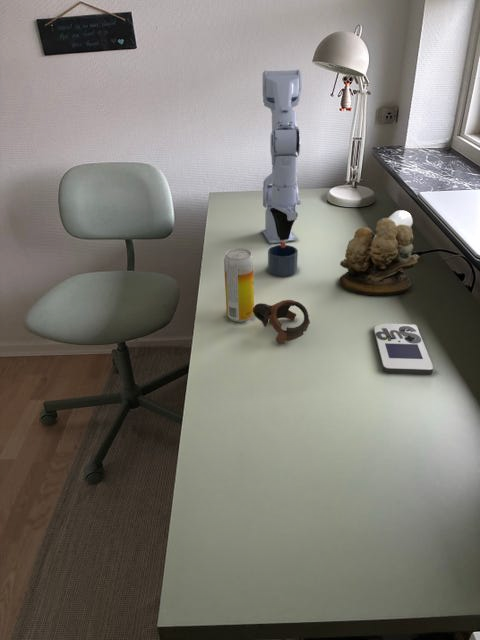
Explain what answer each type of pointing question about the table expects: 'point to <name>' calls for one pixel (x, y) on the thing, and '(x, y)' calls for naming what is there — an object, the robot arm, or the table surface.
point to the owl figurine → (379, 260)
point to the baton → (283, 243)
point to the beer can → (239, 284)
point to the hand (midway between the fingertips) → (283, 238)
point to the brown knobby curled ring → (282, 311)
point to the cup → (282, 260)
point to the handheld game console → (402, 349)
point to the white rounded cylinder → (401, 218)
